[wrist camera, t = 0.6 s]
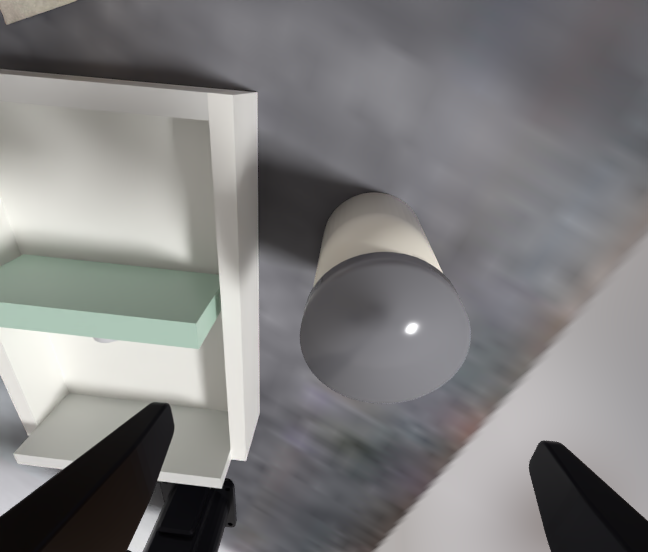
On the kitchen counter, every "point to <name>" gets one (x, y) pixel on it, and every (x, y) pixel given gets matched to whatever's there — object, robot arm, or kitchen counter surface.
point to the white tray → (134, 258)
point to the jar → (381, 306)
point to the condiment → (27, 8)
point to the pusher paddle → (108, 301)
